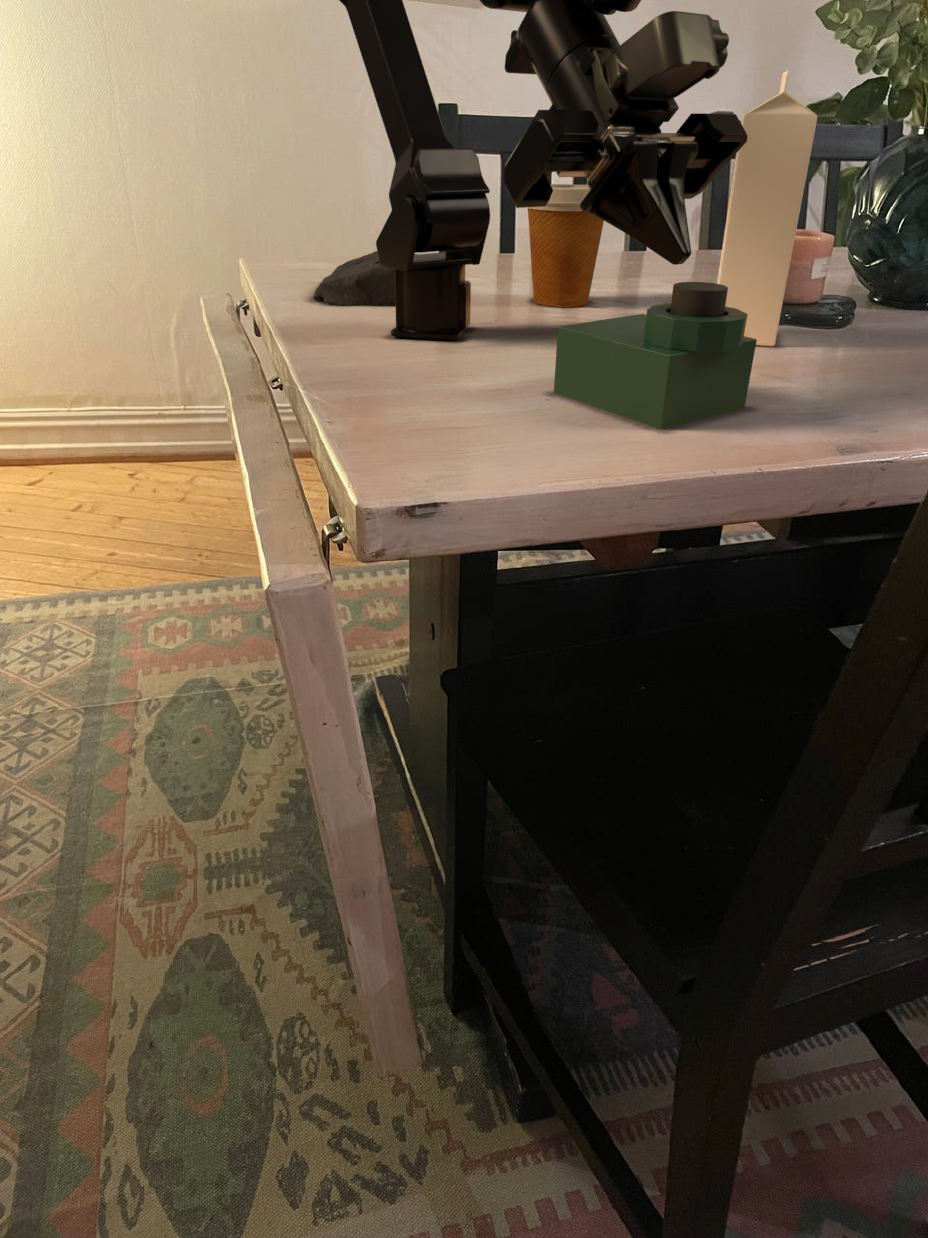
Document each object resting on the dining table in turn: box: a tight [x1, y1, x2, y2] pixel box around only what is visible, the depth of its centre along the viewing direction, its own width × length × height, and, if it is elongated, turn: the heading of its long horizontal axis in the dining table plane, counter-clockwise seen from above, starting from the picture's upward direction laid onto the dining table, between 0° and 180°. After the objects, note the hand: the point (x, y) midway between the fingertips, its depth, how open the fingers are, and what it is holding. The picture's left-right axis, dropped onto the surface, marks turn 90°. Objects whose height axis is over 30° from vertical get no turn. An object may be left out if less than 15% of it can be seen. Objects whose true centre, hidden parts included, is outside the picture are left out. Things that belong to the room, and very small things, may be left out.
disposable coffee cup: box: [526, 183, 605, 308], centre depth 97 cm, size 10×10×12 cm
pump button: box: [670, 281, 728, 318], centre depth 58 cm, size 4×4×2 cm
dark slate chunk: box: [313, 250, 419, 306], centre depth 105 cm, size 15×22×5 cm
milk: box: [716, 69, 818, 347], centre depth 79 cm, size 6×6×22 cm
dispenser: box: [553, 302, 757, 431], centre depth 62 cm, size 12×9×7 cm
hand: (683, 260), depth 58 cm, fingers closed
